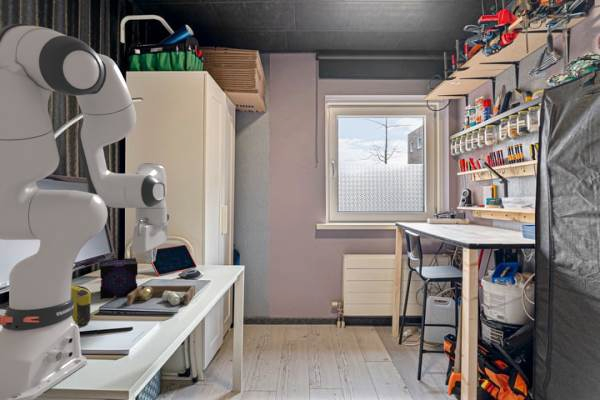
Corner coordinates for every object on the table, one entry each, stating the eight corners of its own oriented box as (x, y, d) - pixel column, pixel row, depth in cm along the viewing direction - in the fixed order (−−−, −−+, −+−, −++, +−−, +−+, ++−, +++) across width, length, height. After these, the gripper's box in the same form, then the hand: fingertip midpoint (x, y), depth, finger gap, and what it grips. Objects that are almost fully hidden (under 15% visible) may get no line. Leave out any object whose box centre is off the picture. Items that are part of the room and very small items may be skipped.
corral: (187, 305, 120) (187, 294, 120) (127, 305, 119) (127, 295, 119) (195, 294, 132) (195, 285, 132) (140, 295, 131) (140, 285, 131)
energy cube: (100, 299, 125) (100, 266, 125) (101, 291, 135) (101, 260, 135) (137, 295, 131) (137, 263, 130) (135, 287, 141) (135, 257, 141)
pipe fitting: (178, 308, 119) (188, 300, 125) (178, 297, 118) (188, 290, 125) (157, 306, 120) (167, 299, 127) (156, 295, 120) (167, 288, 126)
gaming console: (95, 324, 102) (95, 290, 102) (79, 328, 99) (79, 293, 99) (55, 307, 116) (55, 277, 116) (40, 310, 113) (40, 279, 113)
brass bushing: (153, 297, 129) (149, 301, 124) (142, 297, 128) (137, 301, 123) (153, 286, 128) (148, 290, 123) (142, 286, 128) (137, 290, 123)
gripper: (150, 220, 97) (149, 269, 98) (171, 215, 118) (170, 256, 118) (126, 219, 97) (126, 269, 97) (151, 214, 117) (151, 256, 118)
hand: (150, 262), depth 108 cm, fingers closed
